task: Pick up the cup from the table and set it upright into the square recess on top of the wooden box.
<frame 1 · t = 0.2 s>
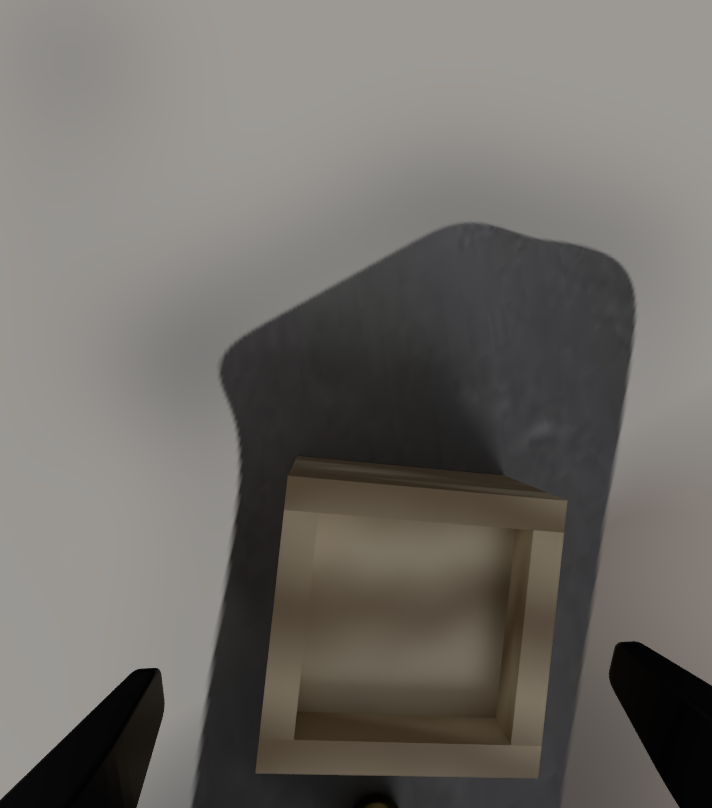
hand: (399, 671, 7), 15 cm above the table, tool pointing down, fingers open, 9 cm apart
wooden box: (392, 571, 23), on the table
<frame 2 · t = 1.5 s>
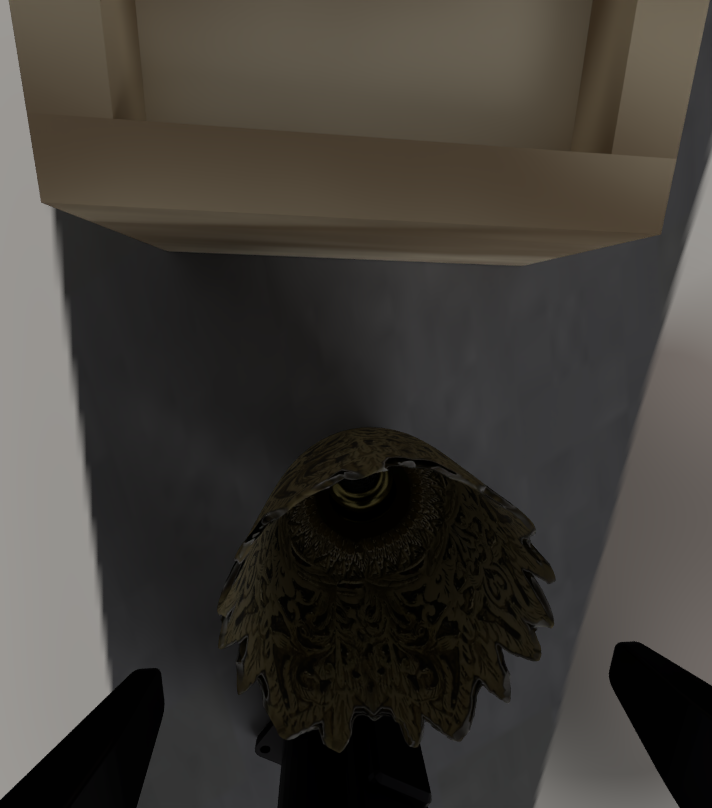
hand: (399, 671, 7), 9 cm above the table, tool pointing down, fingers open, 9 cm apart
wooden box: (357, 45, 12), on the table
cup: (358, 472, 16), on the table
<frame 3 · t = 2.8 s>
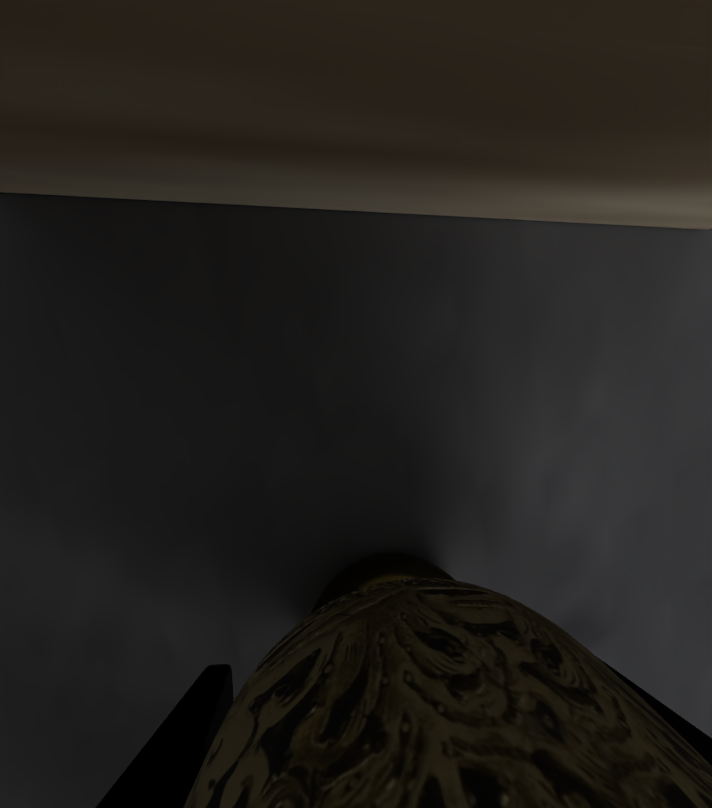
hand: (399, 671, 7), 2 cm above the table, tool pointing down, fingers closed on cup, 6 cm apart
cup: (383, 600, 9), on the table, touching gripper
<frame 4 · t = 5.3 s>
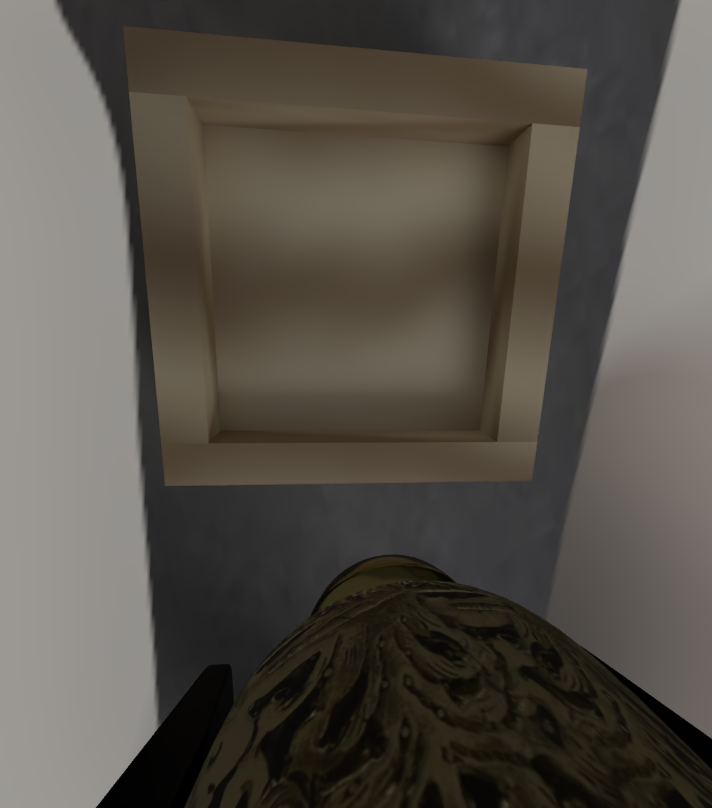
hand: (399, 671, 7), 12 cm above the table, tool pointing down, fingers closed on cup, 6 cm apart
wooden box: (348, 301, 18), on the table
cup: (383, 602, 9), point 10 cm above the table, touching gripper
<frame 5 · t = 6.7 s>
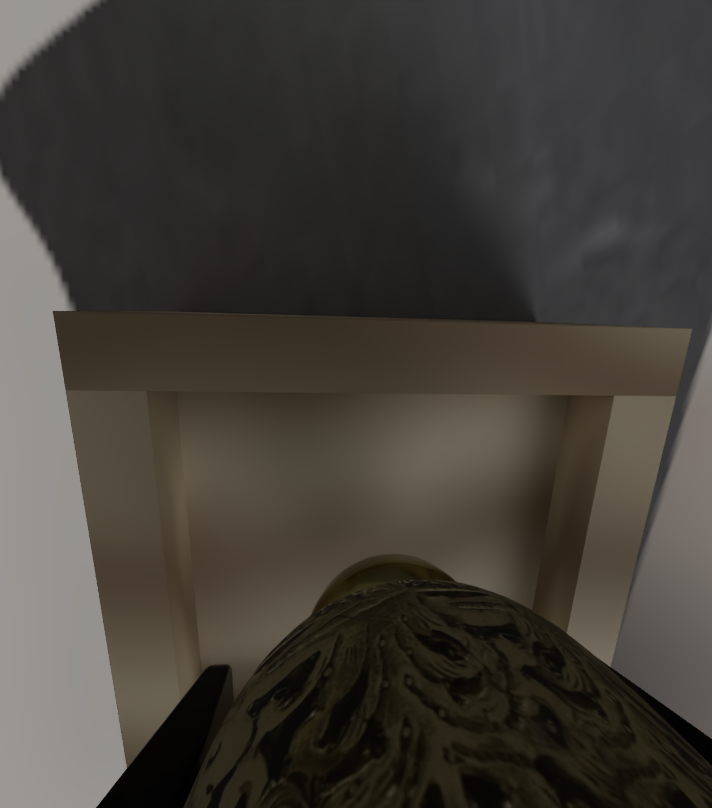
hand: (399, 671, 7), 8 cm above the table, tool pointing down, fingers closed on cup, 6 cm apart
wooden box: (359, 483, 15), on the table
cup: (383, 601, 9), point 6 cm above the table, touching gripper
when the fingers open (8 cm above the table, at t = 7.7 s): cup drops 1 cm, resting on wooden box.
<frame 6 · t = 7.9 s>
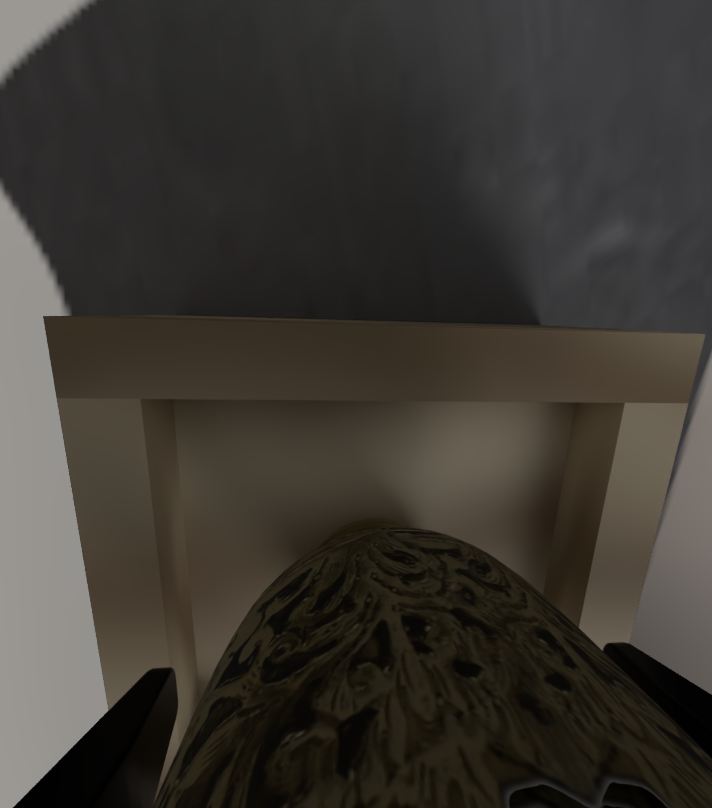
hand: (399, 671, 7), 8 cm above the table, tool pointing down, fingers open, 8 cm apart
wooden box: (360, 489, 15), on the table
cup: (369, 562, 10), point 4 cm above the table, touching wooden box
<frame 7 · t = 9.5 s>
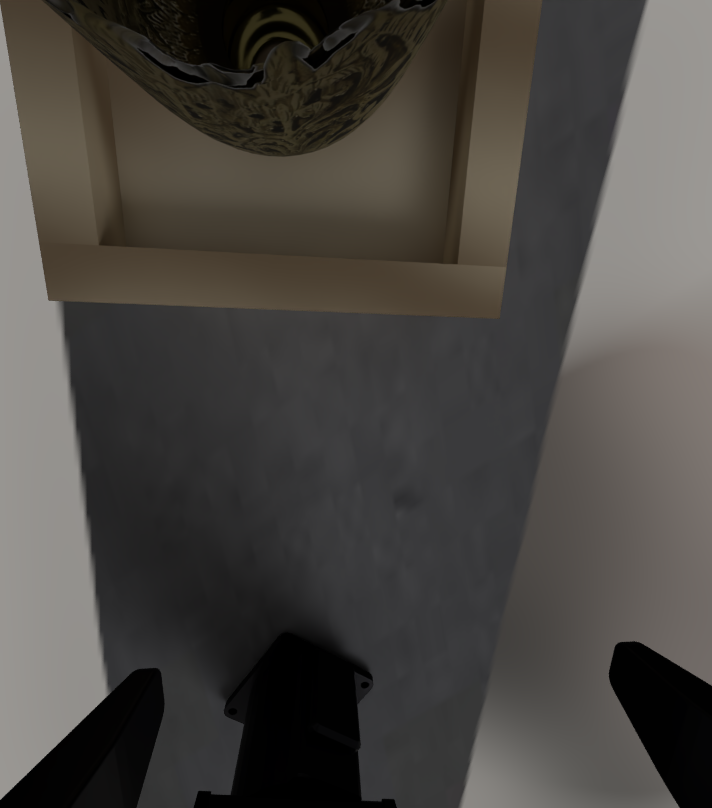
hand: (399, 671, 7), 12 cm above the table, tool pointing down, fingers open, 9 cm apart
wooden box: (299, 143, 15), on the table
cup: (284, 81, 11), point 4 cm above the table, touching wooden box
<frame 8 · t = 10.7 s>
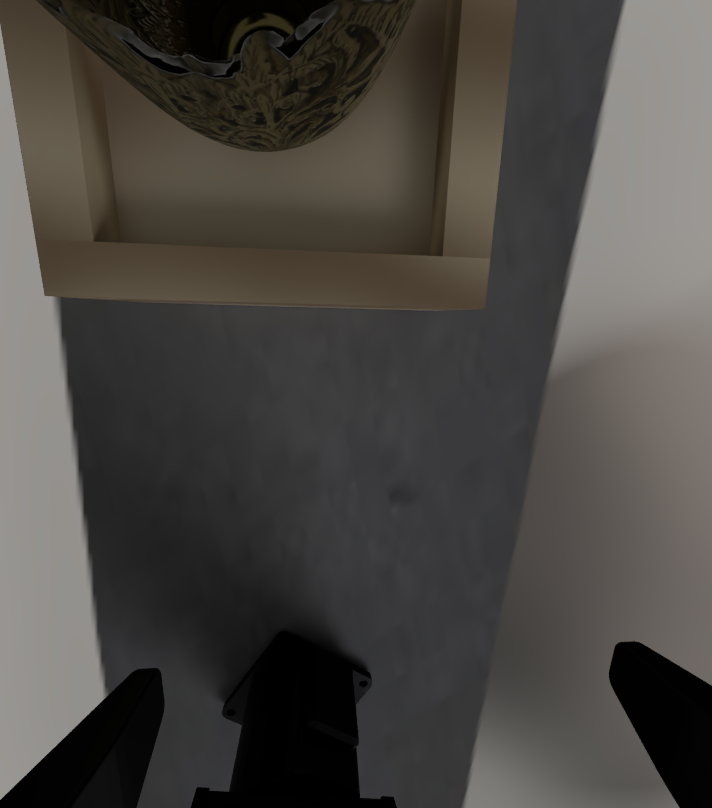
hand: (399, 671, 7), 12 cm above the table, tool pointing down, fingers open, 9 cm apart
wooden box: (290, 145, 15), on the table
cup: (272, 84, 11), point 4 cm above the table, touching wooden box
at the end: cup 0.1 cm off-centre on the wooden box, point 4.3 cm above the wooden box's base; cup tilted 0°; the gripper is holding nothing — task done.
